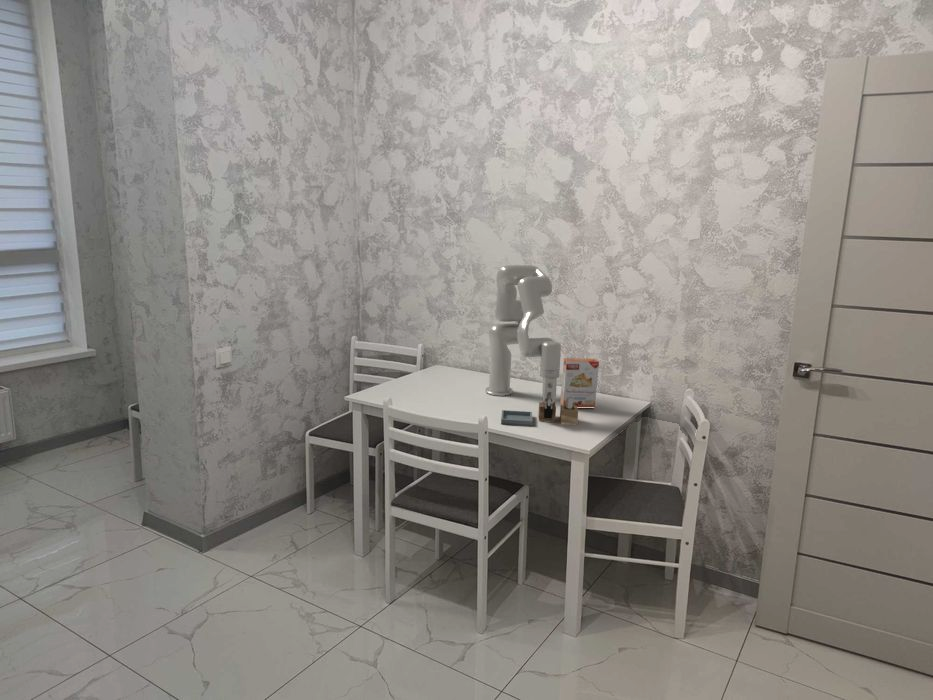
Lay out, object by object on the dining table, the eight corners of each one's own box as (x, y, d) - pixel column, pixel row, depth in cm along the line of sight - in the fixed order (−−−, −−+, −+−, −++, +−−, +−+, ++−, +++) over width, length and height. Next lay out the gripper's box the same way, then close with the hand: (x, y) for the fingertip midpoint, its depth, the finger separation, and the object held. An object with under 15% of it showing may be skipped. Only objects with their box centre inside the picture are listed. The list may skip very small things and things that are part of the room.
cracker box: (563, 409, 270) (566, 360, 266) (559, 404, 276) (563, 357, 271) (595, 409, 271) (599, 361, 267) (591, 405, 277) (595, 358, 273)
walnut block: (538, 416, 259) (539, 402, 258) (554, 417, 259) (555, 403, 258) (538, 421, 253) (539, 406, 252) (555, 422, 253) (556, 407, 251)
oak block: (559, 419, 257) (560, 404, 255) (575, 420, 256) (576, 405, 255) (560, 424, 250) (561, 409, 249) (577, 425, 250) (578, 410, 249)
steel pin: (565, 418, 254) (566, 396, 253) (571, 419, 254) (572, 397, 252) (565, 420, 252) (566, 398, 250) (571, 420, 252) (573, 399, 250)
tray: (501, 414, 259) (502, 410, 259) (531, 416, 258) (531, 411, 258) (501, 424, 247) (501, 419, 247) (532, 426, 247) (532, 421, 246)
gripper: (560, 378, 243) (558, 421, 246) (557, 368, 260) (555, 408, 263) (540, 377, 244) (538, 420, 247) (539, 367, 260) (537, 407, 264)
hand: (547, 414), depth 255 cm, fingers open, 9 cm apart
